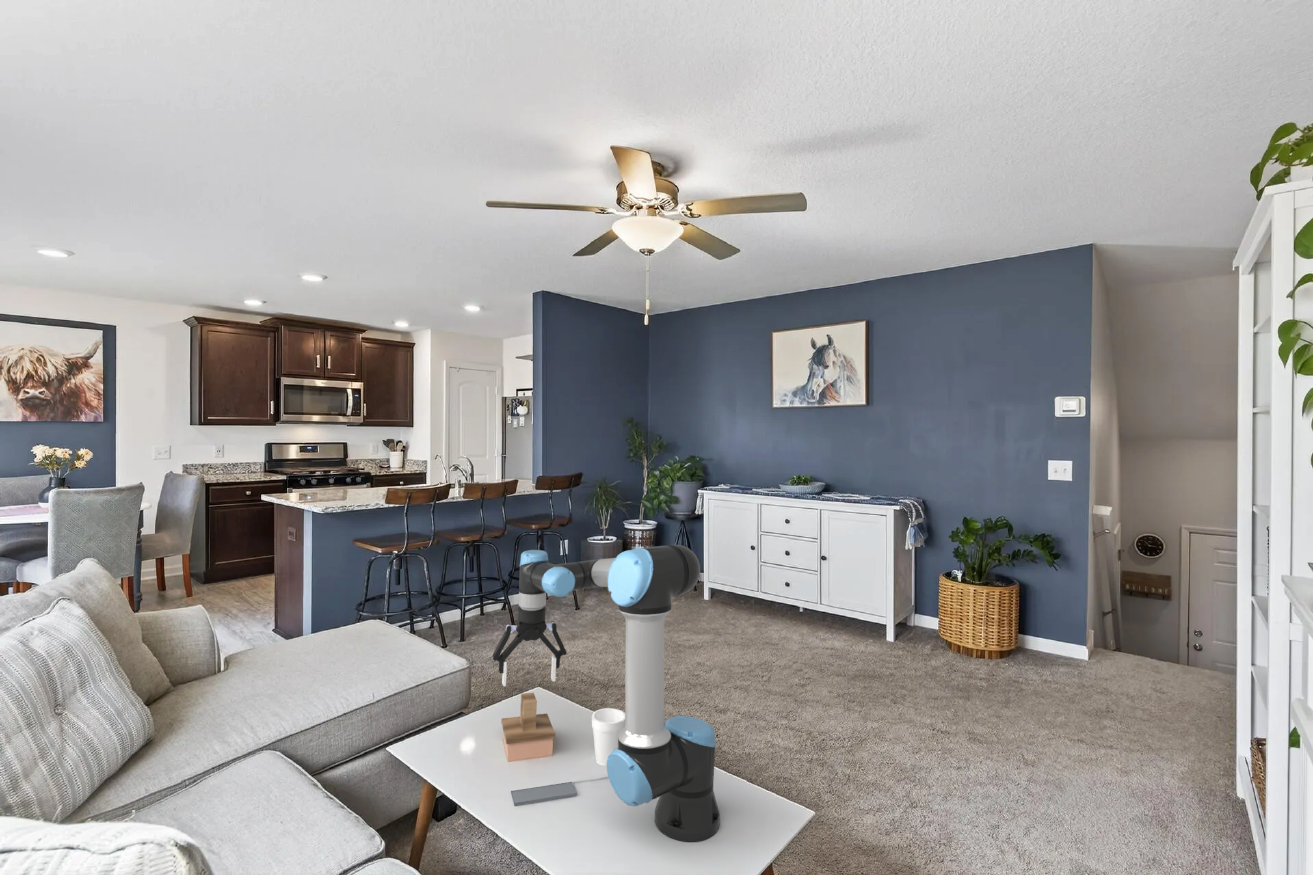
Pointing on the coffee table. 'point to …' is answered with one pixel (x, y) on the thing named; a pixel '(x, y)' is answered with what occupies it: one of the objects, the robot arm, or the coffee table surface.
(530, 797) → the mat
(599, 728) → the foam cup
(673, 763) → the robot arm
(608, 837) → the coffee table surface
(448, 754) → the coffee table surface
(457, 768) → the coffee table surface
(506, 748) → the pink open box
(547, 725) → the lid
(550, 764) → the coffee table surface
